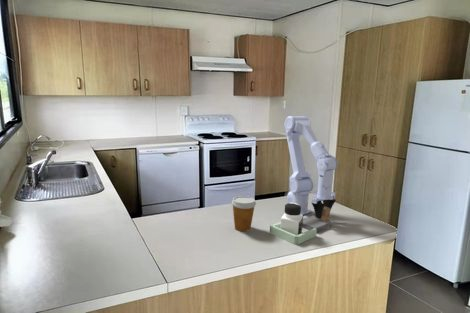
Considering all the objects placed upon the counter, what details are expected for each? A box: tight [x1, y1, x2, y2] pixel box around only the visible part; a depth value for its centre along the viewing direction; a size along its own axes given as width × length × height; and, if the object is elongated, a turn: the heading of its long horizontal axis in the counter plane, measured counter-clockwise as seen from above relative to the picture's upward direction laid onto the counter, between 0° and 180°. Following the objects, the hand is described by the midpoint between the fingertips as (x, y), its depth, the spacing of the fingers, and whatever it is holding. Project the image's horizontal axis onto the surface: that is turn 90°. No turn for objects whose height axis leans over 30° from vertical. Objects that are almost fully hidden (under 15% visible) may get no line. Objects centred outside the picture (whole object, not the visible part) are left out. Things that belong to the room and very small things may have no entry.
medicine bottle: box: [280, 203, 304, 236], centre depth 124 cm, size 7×7×12 cm
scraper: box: [302, 206, 332, 234], centre depth 134 cm, size 9×12×7 cm
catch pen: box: [269, 221, 317, 246], centre depth 124 cm, size 13×12×3 cm
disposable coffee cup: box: [231, 195, 257, 232], centre depth 128 cm, size 10×10×12 cm
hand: (322, 216), depth 137 cm, fingers open, 5 cm apart
